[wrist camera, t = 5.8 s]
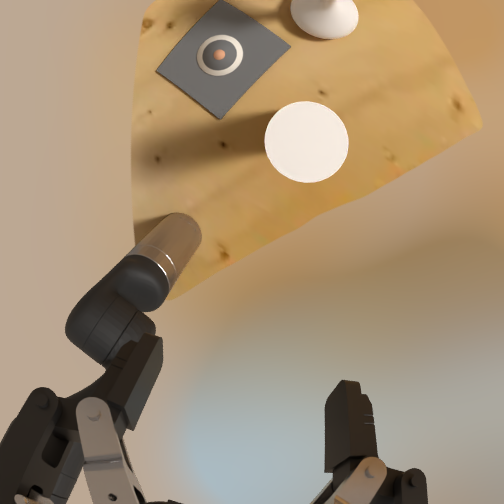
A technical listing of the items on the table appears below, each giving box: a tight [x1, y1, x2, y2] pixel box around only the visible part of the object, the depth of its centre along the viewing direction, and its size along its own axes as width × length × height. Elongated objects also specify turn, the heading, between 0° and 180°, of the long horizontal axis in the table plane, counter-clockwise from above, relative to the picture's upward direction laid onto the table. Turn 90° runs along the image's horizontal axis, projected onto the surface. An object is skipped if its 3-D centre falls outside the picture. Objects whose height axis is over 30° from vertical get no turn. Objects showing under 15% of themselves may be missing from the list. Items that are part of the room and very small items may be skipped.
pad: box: [156, 0, 291, 119], centre depth 39 cm, size 18×16×1 cm
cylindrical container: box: [265, 101, 348, 183], centre depth 33 cm, size 7×7×25 cm
